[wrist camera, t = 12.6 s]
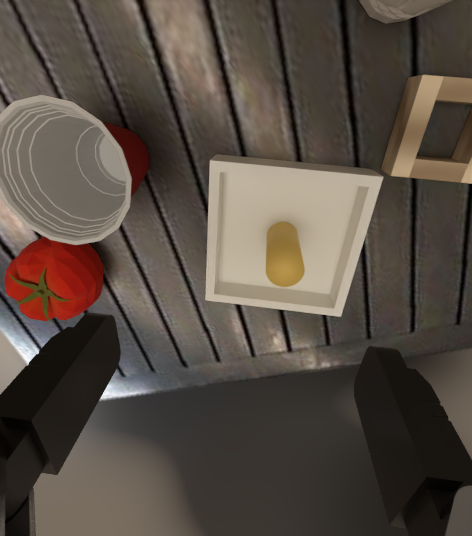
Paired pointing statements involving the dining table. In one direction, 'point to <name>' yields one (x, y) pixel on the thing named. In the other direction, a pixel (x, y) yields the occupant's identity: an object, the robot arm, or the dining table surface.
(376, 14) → the white cup
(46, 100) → the plastic cup
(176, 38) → the dining table surface
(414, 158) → the socket block
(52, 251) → the tomato
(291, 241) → the dowel
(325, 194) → the tray
